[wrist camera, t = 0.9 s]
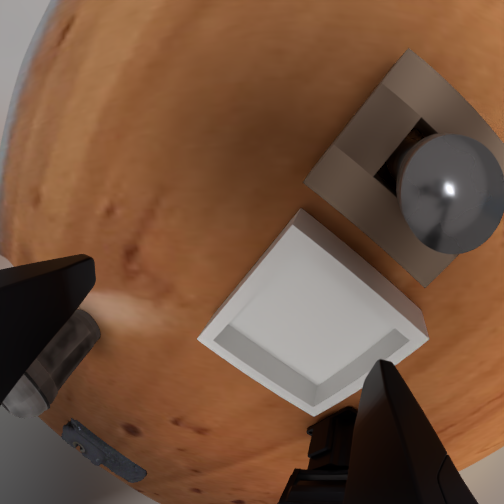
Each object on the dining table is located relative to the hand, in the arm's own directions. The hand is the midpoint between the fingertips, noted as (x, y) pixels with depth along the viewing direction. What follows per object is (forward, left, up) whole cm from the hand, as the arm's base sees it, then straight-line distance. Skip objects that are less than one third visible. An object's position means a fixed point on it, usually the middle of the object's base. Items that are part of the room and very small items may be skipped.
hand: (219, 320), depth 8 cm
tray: (-7, +6, -14) cm, 16 cm away
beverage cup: (+10, +27, -14) cm, 32 cm away
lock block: (-4, -7, -14) cm, 16 cm away
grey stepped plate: (-2, +72, -14) cm, 73 cm away
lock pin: (-4, -7, -14) cm, 16 cm away
